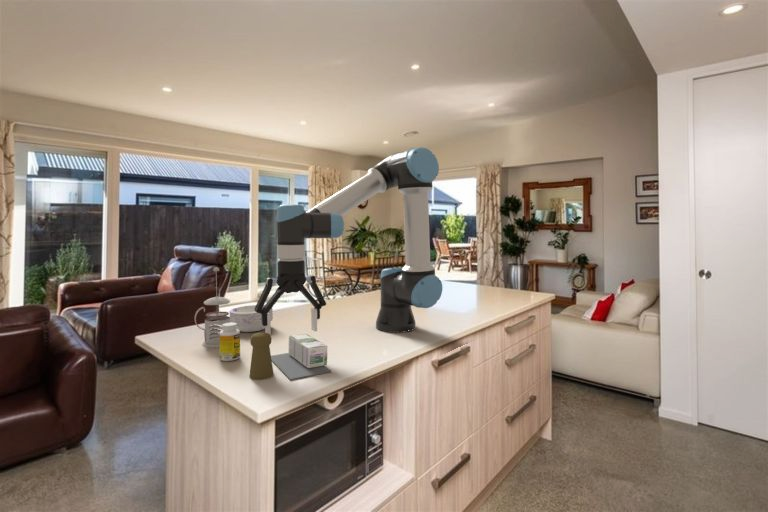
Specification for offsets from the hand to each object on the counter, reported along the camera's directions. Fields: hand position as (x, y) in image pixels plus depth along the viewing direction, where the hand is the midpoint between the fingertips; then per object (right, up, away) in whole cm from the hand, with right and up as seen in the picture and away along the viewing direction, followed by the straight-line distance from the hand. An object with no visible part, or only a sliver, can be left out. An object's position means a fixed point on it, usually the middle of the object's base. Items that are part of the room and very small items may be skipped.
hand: (292, 333), depth 112 cm
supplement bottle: (-18, -8, +1) cm, 20 cm away
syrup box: (0, -4, +5) cm, 6 cm away
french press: (-29, -7, +16) cm, 34 cm away
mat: (+2, -8, -3) cm, 9 cm away
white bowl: (-23, -5, +34) cm, 42 cm away
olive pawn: (-5, -9, -11) cm, 15 cm away
